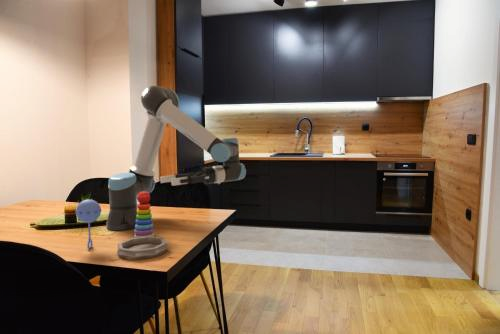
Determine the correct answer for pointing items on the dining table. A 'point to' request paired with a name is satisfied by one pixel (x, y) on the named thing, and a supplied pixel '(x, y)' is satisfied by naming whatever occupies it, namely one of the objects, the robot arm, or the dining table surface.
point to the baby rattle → (88, 214)
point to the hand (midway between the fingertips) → (165, 181)
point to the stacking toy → (143, 217)
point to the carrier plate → (142, 248)
